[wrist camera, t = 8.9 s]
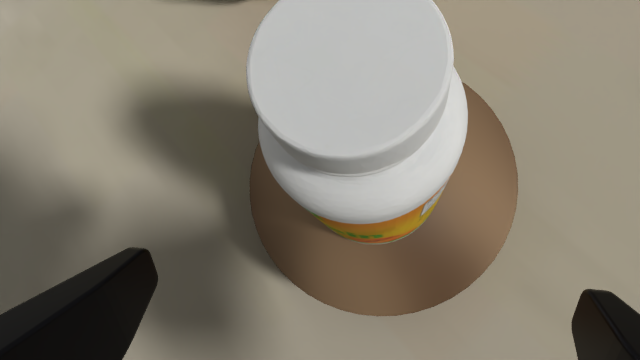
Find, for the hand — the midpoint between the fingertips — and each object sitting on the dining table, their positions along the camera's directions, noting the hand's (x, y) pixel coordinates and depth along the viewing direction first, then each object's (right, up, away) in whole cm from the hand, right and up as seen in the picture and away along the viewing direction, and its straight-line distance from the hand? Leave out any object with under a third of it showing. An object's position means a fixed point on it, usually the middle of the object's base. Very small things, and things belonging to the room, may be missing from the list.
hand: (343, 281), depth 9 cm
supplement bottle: (+2, +2, +9) cm, 9 cm away
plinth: (+2, +1, +11) cm, 12 cm away
